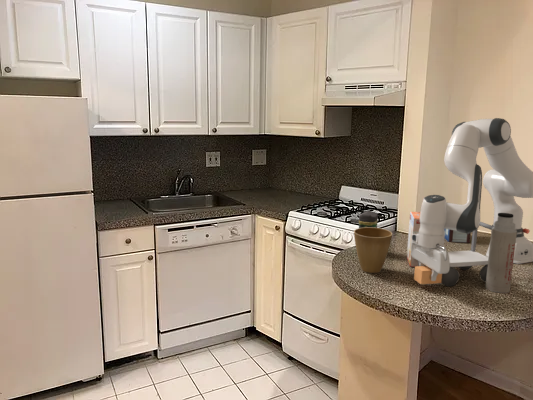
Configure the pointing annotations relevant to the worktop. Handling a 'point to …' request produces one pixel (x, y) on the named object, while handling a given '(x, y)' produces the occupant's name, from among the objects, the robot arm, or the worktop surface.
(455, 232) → the protein box
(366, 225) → the coffee jar
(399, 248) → the worktop surface
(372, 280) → the worktop surface
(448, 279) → the cart
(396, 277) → the worktop surface
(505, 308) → the worktop surface
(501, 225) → the thermos bottle
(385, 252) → the plant pot
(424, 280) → the block
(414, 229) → the cracker box
